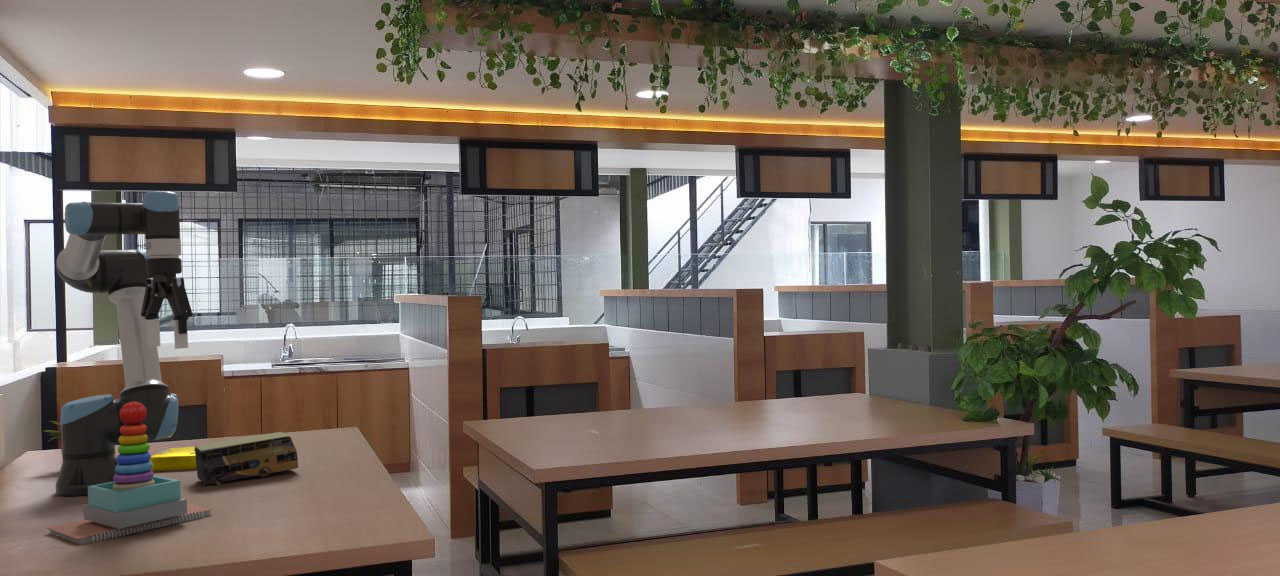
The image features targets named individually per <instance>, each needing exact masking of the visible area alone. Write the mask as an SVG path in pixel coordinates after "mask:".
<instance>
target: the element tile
mask: <svg viewBox="0 0 1280 576" xmlns="http://www.w3.org/2000/svg"><path fill="white" fill-rule="evenodd" d="M149 461H151V462H152V468H151V471H152V472H164V471H165V472H166V471H168V472H169V471H185V470H189V471H191V470H197V467H196V456H195V446H188V447H186V446H185V447H184V446H183V447H170V448H166V449H164V450H163V451H159V452H157V453H155V454H153V455H151V458H150V460H149Z"/></svg>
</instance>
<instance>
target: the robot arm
mask: <svg viewBox="0 0 1280 576" xmlns="http://www.w3.org/2000/svg"><path fill="white" fill-rule="evenodd" d="M179 199H180V198H179V195H178V193H176V192H174V191H158V190H157V191H147V192H145V193H144V194H143V201H142V203H141V202H136V203H135V202H92V201H91V202H90V201H89V202H87V201H79V202H77V201H76V202H69V203H67V204H66V205H65V208H64V225H65V226H64V227H65V230H66V232H67V234H68V235H69V236H68V239H67V241H66V245H65V248H63V249H62V250H61V251H59V253H58V256H57V258H56V261H55V267H56V272H57V274H58V276H59V278H61V280H62V281H63V282H64V283H65V284H67V285H68V286H70V287H71V288H73V289H76V290H79V291H81V292H85V293H89V294H102V293H103V294H108V300H109V301H110V302H111V303H113V304H115V307H116V316H117V324H118V331H119V332H118V333H119V340H120V351H121V359H122V366H123V367H122V368H123V375H124V383H125V384H124V385H125V387H124V388H123V389H122V390H121V391H120V393H119V398H117V399H114V396H113V395H112V394H110V393H109V394H100V395H92V396H88V397H81V398H79V399H75V400H71V401H69V402H66V403H65V404H64V405H62V406H61V409H60V422H59V423H60V424H59V425H61V427H60V428H61V429H60V430H61V431H60V432H62V436H61V438H62V439H61V440H62V441H61V448H62V451H61V457H62V462H61V466H60V469H59V473H58V476H57V479H56V483H55V494H56V495H57V496H61V495H62V496H63V497H65V496H66V497H68V496H69V497H72V496H73V497H75V496H88V486H92V485H98V484H103V483H108V482H114V480H113V477H114V475H115V474H116V473H117V472H116V471H115V467H116V465H117V464H119V463H117V461H116V458H117V456H116V446H117V445H121V444H120V443H119V441H118V439H119V437H120V436H122V434H121V433H120V428H121V427H122V426H123V425H127V424H125V423H123V422H122V420H121V419H120V410H121V408H122V407H123V406H124V405H125V404H127V403H129V402H139V403H141V404H143V405H144V406H145V408H146V412H147V414H146V418H145V419H144V421H143V422H142V423H140V424H145V425H146V427H147V430H146V432H145V433H144V434H146V435H147V436H148V440H147V441H146V442H150V441H154V442H156V441H158V440H163V439H168V438H171V437H172V436H173V435H174V434H175V432H176V429H177V425H178V419H179V399H178V395H177V394H176V393H173V392H171V393H170V387H169V385H167V384H166V383H165V382H163V381H162V373H161V366H160V365H161V364H160V358H159V350H158V347H161V331H160V329H161V328H160V327H161V326H160V318H161V317H160V316H159V314H160V310H161V308H162V305H163V302H164V300H165V299H166V300H167V302H168V305H169V306H170V309H171V310H172V313H173V315H174V317H173V319H172V320H173V332H174V333H173V334H174V349H175V350H179V349H187V348H189V340H188V339H189V338H188V337H189V336H188V320H189V318H191V317H193V311H192V307H191V304H190V300H189V297H188V294H187V290H186V287H185V278H184V277H181V276H179V277H178V276H176V275H178V274H181V273H183V267H182V264H183V263H182V261H183V260H182V259H181V257H180V256H182V239H181V226H180V225H181V222H180V219H181V218H180V215H181V214H180V209H181V206H180V202H179V201H180V200H179ZM107 235H144V240H145V241H144V243H143V247H144V248H145V249H137V248H133V249H102V248H103V246H104V242H105V240H106V237H107ZM62 496H61V497H62Z"/></svg>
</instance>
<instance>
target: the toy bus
mask: <svg viewBox="0 0 1280 576" xmlns="http://www.w3.org/2000/svg"><path fill="white" fill-rule="evenodd" d="M194 447H195V456H196V467H197V469H196V475H197V479H198V480H199V481H201V482H202V484H204V485H213V484H215V485H217V486H219V485H222V484H223V483H224V482H229V481H230V482H231V481H235V480H241V479H245V478H246V479H247V478H252V477H257V476H259V477H260V478H261V479H267V478H269V477H270V475H271V474H273V473H279V472H284V471H289V470H290V471H291V470H295V469H298V468H299V460H298V459H299V457H298V451H297V448H296V446H295V444H294V442H293V440H292V437H291V435H288V434H286V433H284V432H282V431H278V432H273V433H266V434H260V435H253V436H248V437H240V438H236V439H230V440H228V439H227V440H224V441H217V442H210V443H205V444H204V443H203V444H199V445H195V446H194Z"/></svg>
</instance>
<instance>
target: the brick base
mask: <svg viewBox="0 0 1280 576" xmlns="http://www.w3.org/2000/svg"><path fill="white" fill-rule="evenodd" d="M152 479H153V480H154V481H155V485H149V486H144V487H139V488H134V489H129V490H124V491H115V490H113V485H114V484H115V482H108V483H103V484H98V485H92V486H88V495H87V497H88V498H87V501H88V502H87V504H82V512H83V513H82V514H83V517H82V518H83V520H88V521H92V522H95V523H99V524H103V525H106V526H110V527H113V528H117V529H121V528H125V527H130V526H134V525H139V524H143V523H148V522H152V521H156V520H161V519H165V518H170V517H174V516H178V515H183V514H187V503H188V501H187V500H188V499H186V498H182V497H181V496H182V494H181V480H179V479H173V478H169V477H164V476H159V475H154V474H153V478H152Z"/></svg>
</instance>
